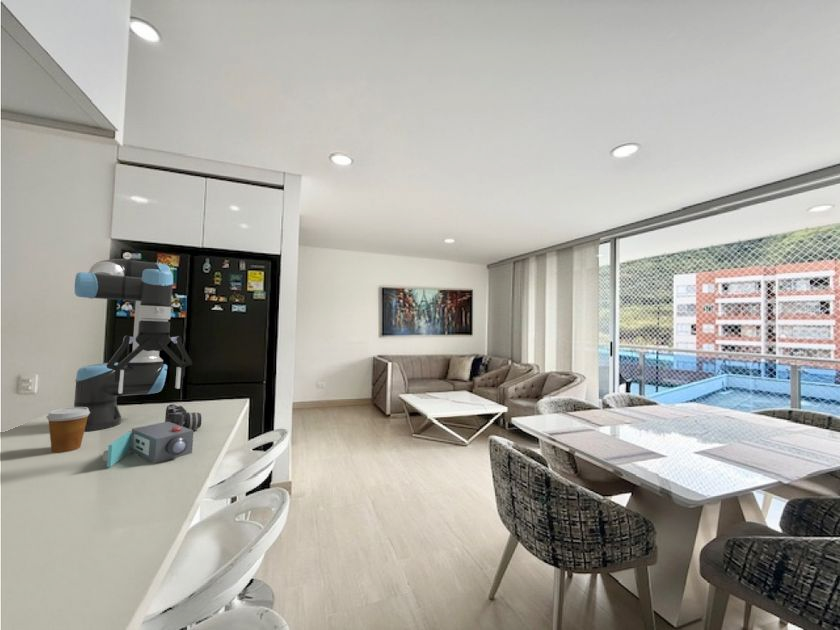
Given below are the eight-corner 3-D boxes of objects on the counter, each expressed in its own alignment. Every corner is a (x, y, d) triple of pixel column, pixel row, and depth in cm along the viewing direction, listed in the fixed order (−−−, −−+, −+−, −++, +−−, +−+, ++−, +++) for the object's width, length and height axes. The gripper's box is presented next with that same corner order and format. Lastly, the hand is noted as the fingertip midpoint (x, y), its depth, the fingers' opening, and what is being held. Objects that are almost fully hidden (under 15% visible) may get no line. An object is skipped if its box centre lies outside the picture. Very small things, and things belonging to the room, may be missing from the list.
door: (123, 450, 104) (125, 431, 104) (131, 450, 105) (132, 430, 105) (102, 467, 93) (103, 445, 93) (111, 466, 93) (112, 444, 93)
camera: (205, 435, 123) (206, 407, 123) (168, 441, 115) (170, 412, 115) (195, 425, 133) (196, 400, 133) (160, 431, 125) (162, 404, 125)
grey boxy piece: (129, 451, 105) (131, 426, 105) (166, 442, 114) (168, 419, 114) (158, 465, 96) (159, 438, 96) (196, 454, 105) (197, 429, 105)
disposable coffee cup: (54, 456, 99) (58, 415, 99) (36, 451, 102) (39, 411, 102) (94, 446, 108) (97, 408, 108) (76, 441, 111) (79, 405, 111)
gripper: (98, 318, 91) (93, 397, 90) (205, 322, 109) (201, 388, 108) (98, 318, 96) (92, 392, 96) (199, 321, 114) (195, 384, 113)
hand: (150, 390), depth 102 cm, fingers open, 13 cm apart
